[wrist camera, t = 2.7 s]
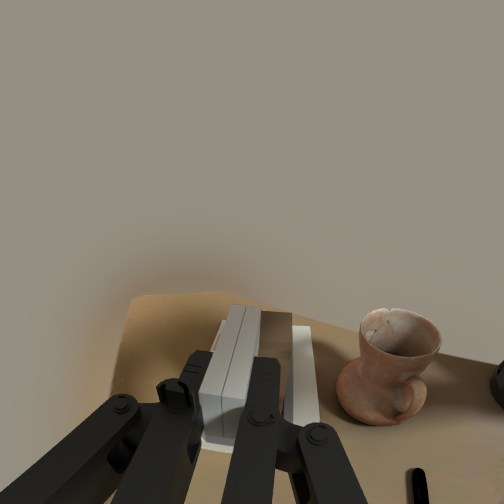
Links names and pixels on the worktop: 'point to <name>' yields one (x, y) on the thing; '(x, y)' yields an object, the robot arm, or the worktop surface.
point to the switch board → (297, 388)
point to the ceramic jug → (389, 367)
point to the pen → (420, 487)
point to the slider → (277, 343)
